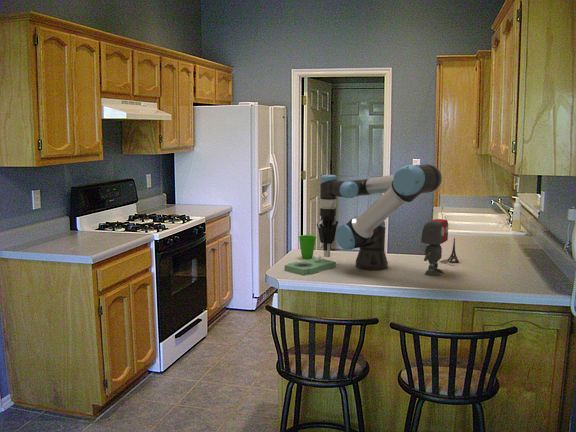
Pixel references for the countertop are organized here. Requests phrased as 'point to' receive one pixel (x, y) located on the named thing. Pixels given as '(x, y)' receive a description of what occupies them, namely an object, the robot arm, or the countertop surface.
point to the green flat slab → (309, 266)
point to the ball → (317, 258)
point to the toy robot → (434, 243)
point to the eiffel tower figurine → (451, 256)
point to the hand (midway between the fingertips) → (326, 256)
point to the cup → (307, 245)
